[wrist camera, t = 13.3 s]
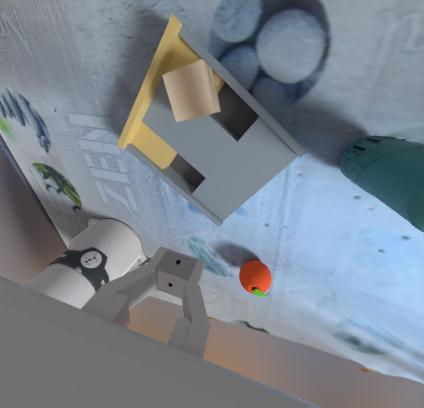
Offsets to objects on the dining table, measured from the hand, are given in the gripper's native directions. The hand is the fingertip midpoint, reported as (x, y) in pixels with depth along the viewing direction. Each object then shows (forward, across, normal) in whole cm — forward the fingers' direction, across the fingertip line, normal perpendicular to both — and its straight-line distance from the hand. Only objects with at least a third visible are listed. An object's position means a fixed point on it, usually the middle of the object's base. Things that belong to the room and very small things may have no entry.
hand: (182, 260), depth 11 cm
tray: (+23, +4, -2) cm, 24 cm away
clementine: (+23, -12, +22) cm, 34 cm away
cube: (+20, +7, -9) cm, 23 cm away
